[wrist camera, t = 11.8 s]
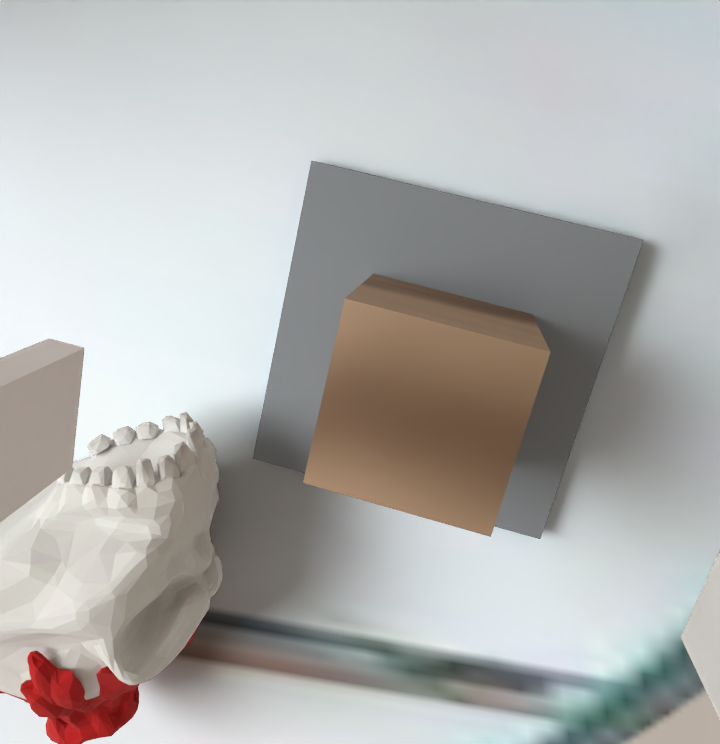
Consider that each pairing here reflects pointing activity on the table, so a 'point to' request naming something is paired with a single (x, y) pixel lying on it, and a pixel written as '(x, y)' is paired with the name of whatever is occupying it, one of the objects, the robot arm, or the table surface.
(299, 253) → the mat
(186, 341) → the table surface
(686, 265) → the table surface
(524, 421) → the walnut cube
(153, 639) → the white two-tone toothed figurine
